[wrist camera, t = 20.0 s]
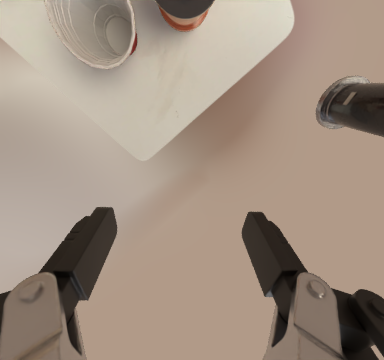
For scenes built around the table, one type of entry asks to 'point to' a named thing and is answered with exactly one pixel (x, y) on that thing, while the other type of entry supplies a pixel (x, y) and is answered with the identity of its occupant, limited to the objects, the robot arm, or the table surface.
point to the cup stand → (184, 13)
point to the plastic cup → (95, 29)
